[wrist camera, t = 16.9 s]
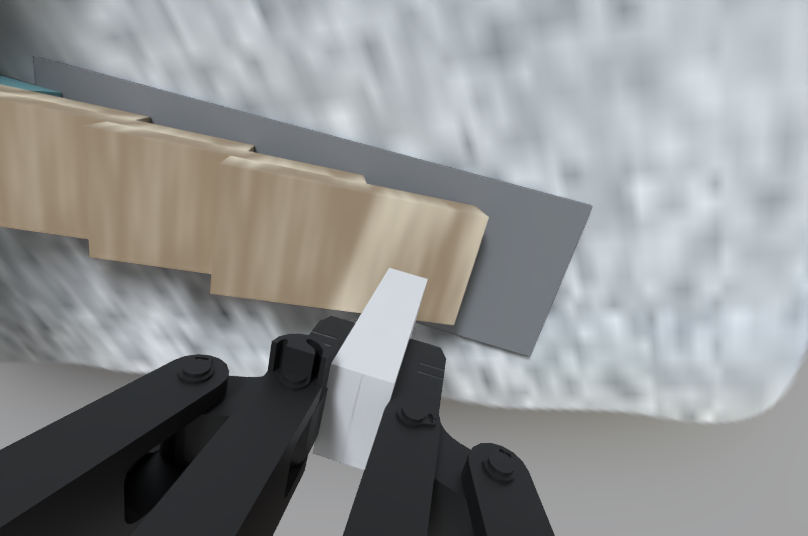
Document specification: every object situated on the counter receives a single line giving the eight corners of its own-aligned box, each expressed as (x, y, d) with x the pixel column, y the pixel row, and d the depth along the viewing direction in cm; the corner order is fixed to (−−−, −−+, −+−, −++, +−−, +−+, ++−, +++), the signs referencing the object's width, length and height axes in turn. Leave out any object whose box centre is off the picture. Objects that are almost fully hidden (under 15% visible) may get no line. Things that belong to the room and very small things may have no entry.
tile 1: (444, 306, 24) (220, 275, 21) (475, 205, 21) (229, 155, 19) (453, 325, 22) (210, 293, 19) (489, 217, 20) (219, 163, 17)
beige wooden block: (244, 247, 25) (1, 210, 22) (254, 145, 22) (-15, 88, 19) (237, 260, 23) (-29, 222, 20) (248, 150, 21) (-49, 89, 18)
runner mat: (52, 210, 26) (46, 212, 26) (40, 57, 23) (32, 56, 23) (529, 352, 24) (530, 356, 24) (590, 205, 21) (592, 206, 21)
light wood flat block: (343, 276, 24) (109, 242, 21) (363, 175, 22) (106, 121, 19) (344, 292, 22) (89, 257, 19) (366, 183, 20) (83, 125, 17)
